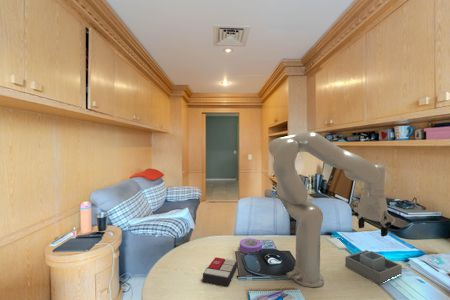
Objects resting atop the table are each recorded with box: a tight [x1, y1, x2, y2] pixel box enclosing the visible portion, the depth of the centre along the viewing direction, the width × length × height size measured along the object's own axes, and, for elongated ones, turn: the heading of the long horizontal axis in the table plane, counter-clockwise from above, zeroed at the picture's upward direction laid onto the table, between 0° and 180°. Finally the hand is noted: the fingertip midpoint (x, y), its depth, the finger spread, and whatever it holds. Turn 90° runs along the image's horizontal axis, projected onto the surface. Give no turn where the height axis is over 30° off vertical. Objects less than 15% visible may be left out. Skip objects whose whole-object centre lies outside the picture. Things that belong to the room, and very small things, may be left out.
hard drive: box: [326, 237, 347, 251], centre depth 125 cm, size 2×8×12 cm
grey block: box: [360, 250, 386, 272], centre depth 99 cm, size 8×6×6 cm
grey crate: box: [344, 249, 403, 286], centre depth 99 cm, size 15×15×4 cm
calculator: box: [202, 256, 238, 288], centre depth 97 cm, size 11×4×15 cm
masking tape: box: [239, 237, 263, 254], centre depth 119 cm, size 12×12×4 cm
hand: (372, 231), depth 98 cm, fingers open, 9 cm apart
